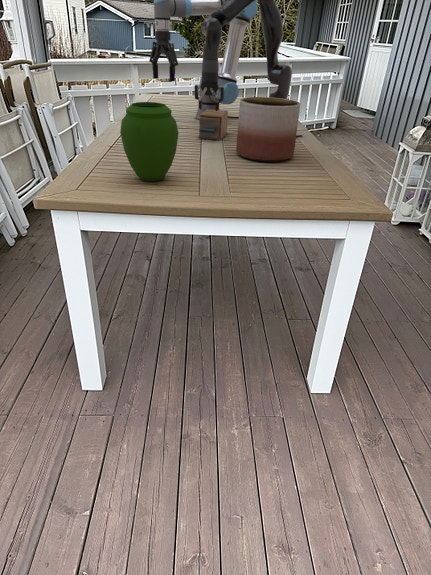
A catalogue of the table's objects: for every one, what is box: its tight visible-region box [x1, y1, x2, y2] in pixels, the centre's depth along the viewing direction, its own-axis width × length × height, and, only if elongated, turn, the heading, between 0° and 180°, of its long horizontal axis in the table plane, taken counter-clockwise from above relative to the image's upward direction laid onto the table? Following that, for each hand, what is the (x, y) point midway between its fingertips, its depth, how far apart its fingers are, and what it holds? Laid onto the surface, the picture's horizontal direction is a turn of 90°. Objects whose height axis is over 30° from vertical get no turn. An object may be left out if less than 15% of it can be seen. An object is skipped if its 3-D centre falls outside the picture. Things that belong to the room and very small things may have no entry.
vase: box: [119, 101, 179, 182], centre depth 140 cm, size 20×20×24 cm
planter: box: [235, 96, 301, 163], centre depth 175 cm, size 25×25×22 cm
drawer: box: [198, 117, 220, 140], centre depth 204 cm, size 21×10×9 cm, turn 168°
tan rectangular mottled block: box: [198, 109, 229, 141], centre depth 208 cm, size 17×11×11 cm, turn 168°
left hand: (163, 80), depth 208 cm, fingers open, 13 cm apart
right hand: (208, 110), depth 193 cm, fingers open, 7 cm apart
